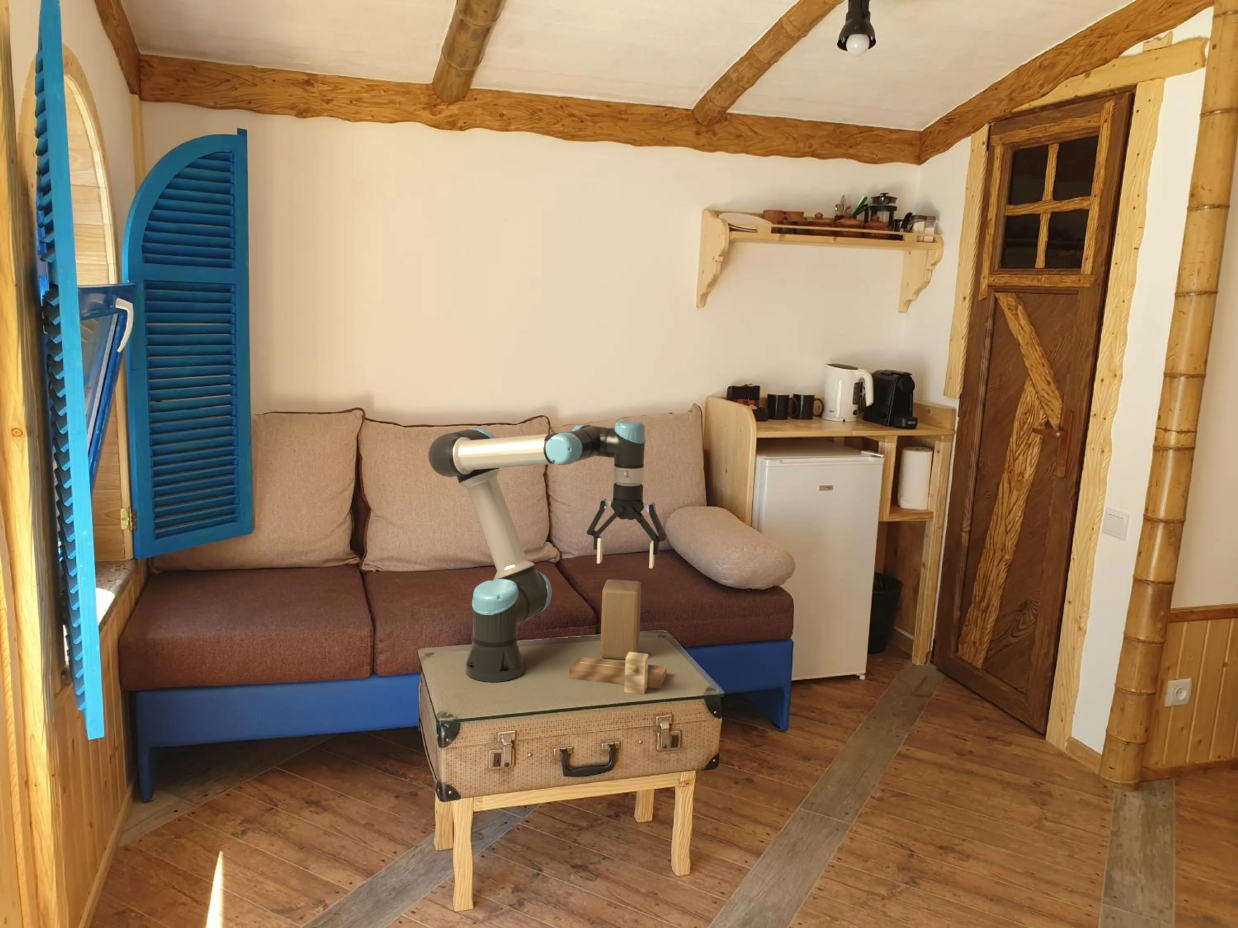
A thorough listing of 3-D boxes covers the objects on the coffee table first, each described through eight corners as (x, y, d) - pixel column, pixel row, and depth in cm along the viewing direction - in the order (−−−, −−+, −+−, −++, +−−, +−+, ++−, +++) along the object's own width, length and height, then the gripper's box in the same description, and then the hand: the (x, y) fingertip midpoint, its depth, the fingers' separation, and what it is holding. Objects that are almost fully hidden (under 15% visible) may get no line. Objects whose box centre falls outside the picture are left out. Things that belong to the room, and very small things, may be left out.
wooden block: (639, 648, 278) (641, 580, 275) (636, 661, 268) (638, 591, 265) (603, 645, 279) (606, 578, 276) (599, 658, 269) (602, 588, 266)
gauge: (624, 692, 248) (625, 658, 246) (634, 672, 261) (635, 639, 259) (643, 694, 247) (644, 660, 245) (653, 674, 260) (654, 641, 258)
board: (569, 678, 255) (569, 668, 255) (577, 665, 264) (578, 656, 264) (660, 688, 251) (660, 679, 250) (666, 675, 259) (666, 666, 259)
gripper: (576, 482, 246) (574, 563, 250) (675, 489, 241) (671, 572, 245) (583, 476, 253) (581, 556, 257) (679, 483, 249) (675, 564, 252)
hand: (625, 564), depth 251 cm, fingers open, 13 cm apart
